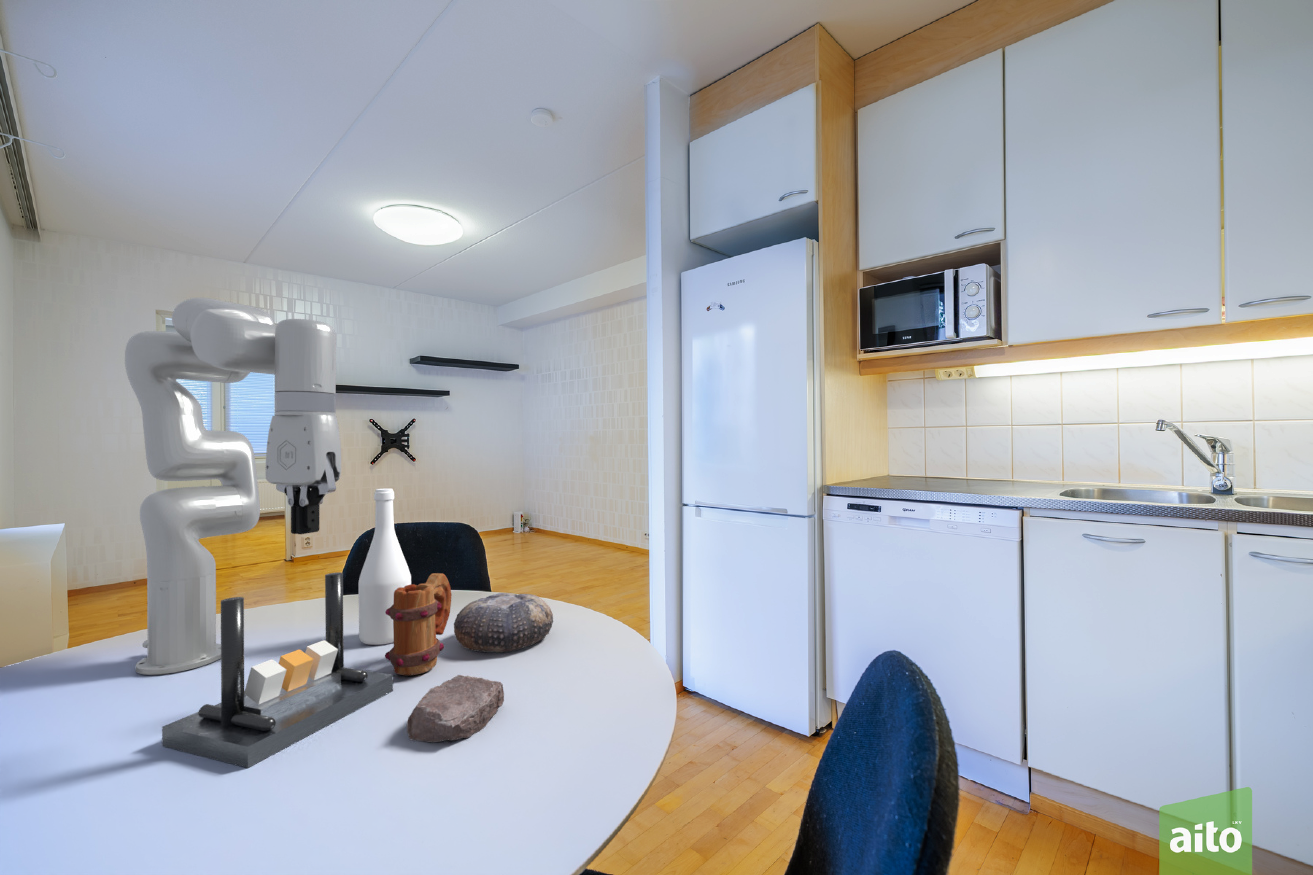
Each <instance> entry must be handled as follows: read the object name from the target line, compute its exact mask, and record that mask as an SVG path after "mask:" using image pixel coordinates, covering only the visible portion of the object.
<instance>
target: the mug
mask: <svg viewBox="0 0 1313 875" xmlns="http://www.w3.org/2000/svg"><path fill="white" fill-rule="evenodd" d="M452 595H453V594H452V589H451V585H450V582H449V580H448V578H447V576H446V575H445V574H444V573H439V572H437V573H436V572H435V573H431V574H430V575H429V576H428V578H427V580H426V582H424V583H419V584H418V585H417V584H415V583H413V584H412V583H411V585H407V586H405V587H404V588H403V587H399V588H397V589H396V590H395V591H394V604H393V605H392V606H391V607H390V608H388V609H387V610H386V611H385V613H386V614H387V615H389V616H390V618H391V619H393V630H394V642H393V647H392V648H391V649H390V650H389V651H387V652H386V653H385V654H384V658H385V659H386V660H388V661H389V662H390V664H391V665H392V666H393V672H394V673H395V674H396V675H400V676H409V677H411V676H416V675H417V676H418V675H420V674H424V673H427V672H429V671H431V670H432V669H433V668H434V667H435V666H436V665H437V663H438V656H439V655H440V653H441V652H442V651H443V650H444V648H445V644H444V643H443V642H441V641H440V640H439V638H437V636H441V635H443V634H444V632H445V629H446V627H447V623H448V620H449V617H450V613H451V607H452Z"/></svg>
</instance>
